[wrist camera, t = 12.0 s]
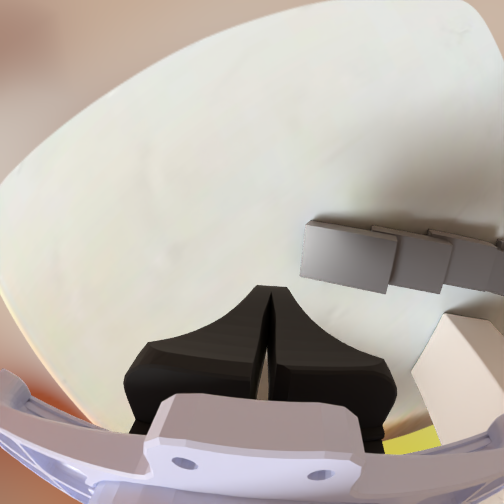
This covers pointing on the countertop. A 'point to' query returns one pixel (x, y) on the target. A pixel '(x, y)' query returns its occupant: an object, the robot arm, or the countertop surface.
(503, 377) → the milk carton
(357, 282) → the domino
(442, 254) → the domino
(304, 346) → the robot arm
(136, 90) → the countertop surface
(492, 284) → the domino
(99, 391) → the countertop surface
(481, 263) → the domino
